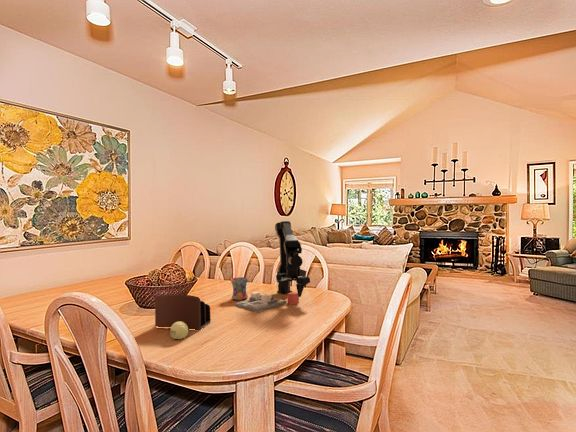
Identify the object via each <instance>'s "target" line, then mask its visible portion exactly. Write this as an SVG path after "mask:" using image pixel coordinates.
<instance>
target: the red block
mask: <svg viewBox="0 0 576 432" xmlns="http://www.w3.org/2000/svg"><path fill="white" fill-rule="evenodd" d="M286 295H287V304H289V305H291V306H292V305H293V306H294V305H298V304H300V297H299V296H298V292H295V291H292V292H290V293H287V294H286Z"/></svg>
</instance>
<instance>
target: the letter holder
mask: <svg viewBox="0 0 576 432" xmlns="http://www.w3.org/2000/svg"><path fill="white" fill-rule="evenodd" d="M154 300H155V301H154V302H155V304H154V306H155V307H154V314H155V315H154V317H155V318H154V319H155V320H154V326H158V327H171V326H172V325H173V324H174V323H175V322H178V321H181V322H184V323H185V324H186V325H187V326H188V329H195V330H200V331H202V330H203V329H204V328H206V327H207V326H208V325H210V324H211V323H212V322H211V321H212V319H211V318H212V317H211V306H210V305H209V304H207V303H205V302H204V301H203V300H201V298H200V297H199V296H194V295H190V294H189V295H188V294H177V293H176V294H174V293H173V294H171V293H170V294H162V295H157V296H155V299H154ZM210 322H211V323H210ZM206 325H207V326H206ZM205 326H206V327H205ZM202 328H203V329H202ZM201 329H202V330H201ZM195 330H194V331H195Z"/></svg>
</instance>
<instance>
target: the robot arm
mask: <svg viewBox="0 0 576 432" xmlns="http://www.w3.org/2000/svg"><path fill="white" fill-rule="evenodd" d="M274 230H275V233H276V236H277V237H278V241H279V242H278V243H279V259H280V260H279V261H280V264H279V266H278V267H277V272H276V275H275V276H276V277H275V279H276V283H278V284H277V291H276V293H278V294H285V295H287V293H291V292H293V291H292V290H291V283H293V281H295V282H296V285H295V286H296V291H297V292H296V293H298V296H299V298H301V297H302V294H303V291H304V288H305V287H306V285H309V284H310V283H311V279H310V277H309V276H307V270H305V269H302V268H301V266H302V265H303V258H302V257H301V256H300V255H299V254H302V252H303V248H302V244H301V243H300V241H299V239H298V237H296V236H295V235H294V233H293V230H292V224H291V221H289V220H282V221H279V222H277V223H276V224H275V225H274Z"/></svg>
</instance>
